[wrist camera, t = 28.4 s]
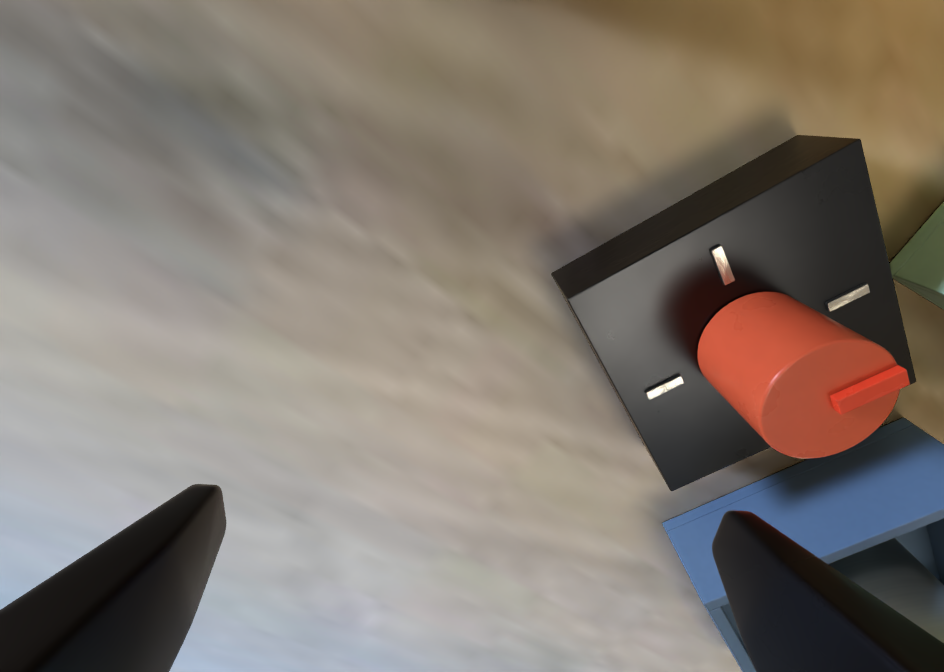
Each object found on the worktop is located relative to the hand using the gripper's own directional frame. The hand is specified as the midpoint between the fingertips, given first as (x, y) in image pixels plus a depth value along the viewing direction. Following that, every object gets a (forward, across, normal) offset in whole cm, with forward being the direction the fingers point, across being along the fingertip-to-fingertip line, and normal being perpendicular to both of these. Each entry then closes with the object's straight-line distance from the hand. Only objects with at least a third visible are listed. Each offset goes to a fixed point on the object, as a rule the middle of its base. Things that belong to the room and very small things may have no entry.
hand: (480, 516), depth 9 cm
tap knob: (+9, -10, 0) cm, 14 cm away
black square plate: (+12, -10, 0) cm, 16 cm away
